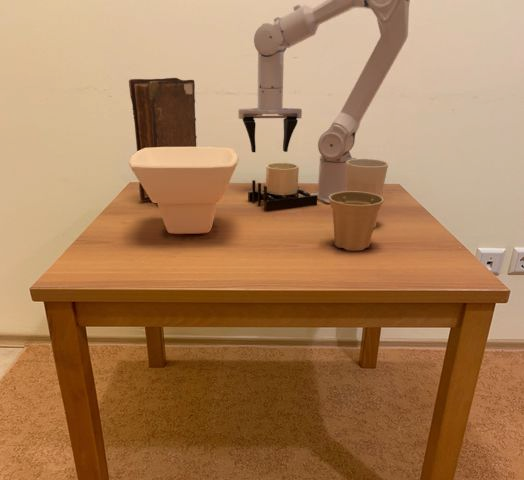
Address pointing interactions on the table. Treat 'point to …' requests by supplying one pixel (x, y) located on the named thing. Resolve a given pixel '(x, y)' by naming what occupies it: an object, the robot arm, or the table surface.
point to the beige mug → (282, 178)
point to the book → (163, 114)
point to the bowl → (185, 183)
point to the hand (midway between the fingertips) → (269, 151)
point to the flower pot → (354, 218)
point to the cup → (366, 176)
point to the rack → (280, 199)
